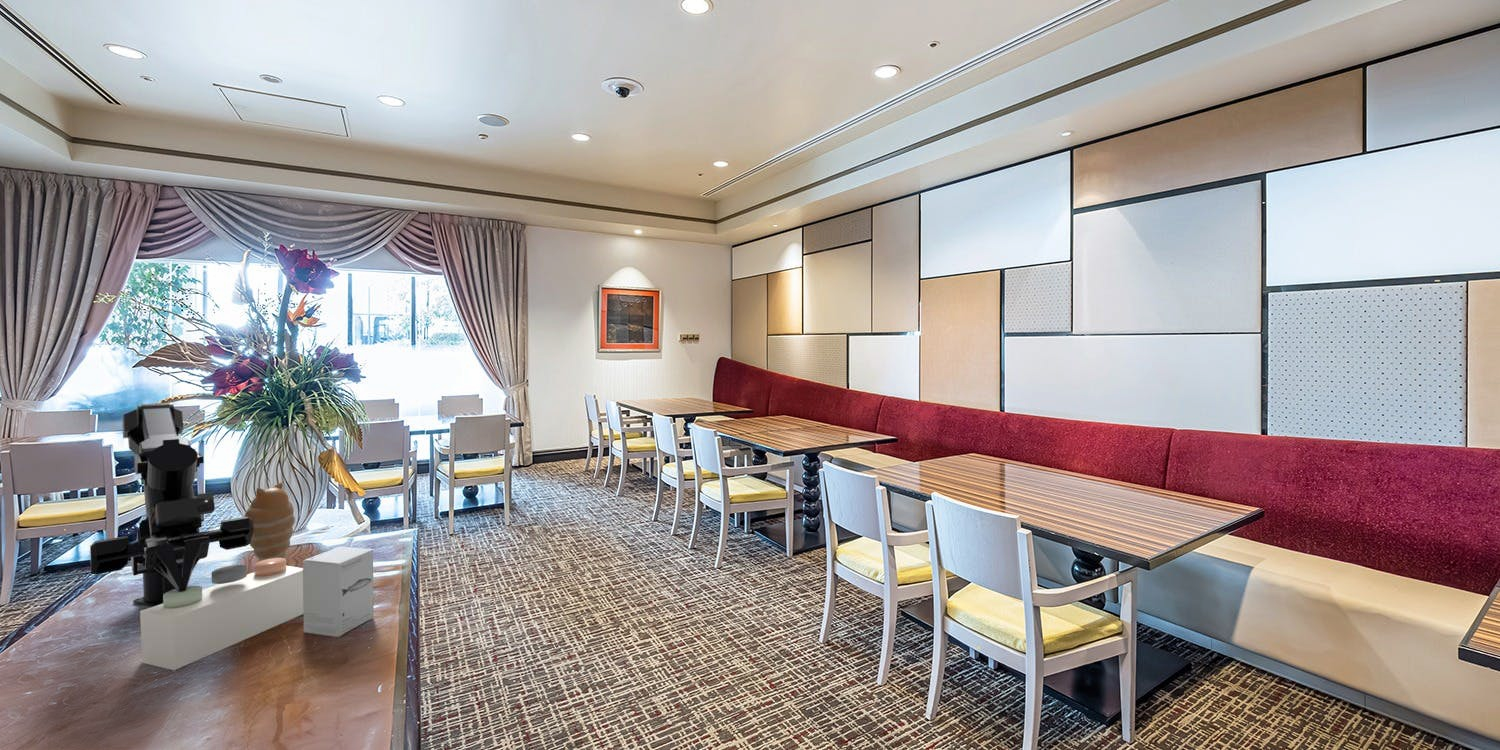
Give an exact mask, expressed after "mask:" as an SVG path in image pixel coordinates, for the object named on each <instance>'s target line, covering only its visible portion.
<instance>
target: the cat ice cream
mask: <svg viewBox="0 0 1500 750" xmlns="http://www.w3.org/2000/svg"><path fill="white" fill-rule="evenodd" d="M255 493H256V496H255V497H253V500H252V501H251V503H250V506H249V507H248V508H247V509H246V512H245V513H244V516H243V517H249V518H250V519H252V521H253V526H254V530H253V534H252V539H251V543H250V544H249V546H250V547H251V548H252V549H253V555H255V557H256V558H257V559H258V562H259V561H262V560H266V559H271V558H285V559H286V552H287V551H288V550H289V548H290V547H291V538H292V536H293V534H294V525H295V522H296V517H295V516H294V511H295V509H294V506H293V503H292V502H291V501H290V499H289V496H288V494H287V492H286V491H284V489H283V482H278V483H277V484H275V485H274V487H270V488H265V489H263V488H261V487H257V488H256V492H255Z"/></svg>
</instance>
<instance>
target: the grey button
mask: <svg viewBox="0 0 1500 750" xmlns="http://www.w3.org/2000/svg"><path fill="white" fill-rule="evenodd" d="M247 568H248V567H247V565H246V564H232V565H228V566H227V565H226V566H221V567H220V568H216V569H214V570H212V571H211V573H210V575H211V584H214V585H215V584H216V585H218V584H224V583H231V582H235V581H238V580H241V579H243V578H245V577H246V576H247V575H248V569H247Z"/></svg>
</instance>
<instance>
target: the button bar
mask: <svg viewBox="0 0 1500 750" xmlns="http://www.w3.org/2000/svg"><path fill="white" fill-rule="evenodd" d="M302 615H304V613H303V567H297V566H292V565H291V566H290V565H286V569H285V570H284V571H282V572H279V573H275V574H271V575H255V572H250V573H247V576H246V577H245V578H243V579H241V580H238V581H235V582H231V583H224V584H216V585H215V584H214V585H212V586H210V587H207V588H204V589H202V599H200V600H199V601H197V602H194V603H191V604H188V605H184V606H178V607H165V606H164V605H163V604H160V605H157V606H154V607H151V606H150V607H148V608H146V609H142V610H139V617H140V618H139V619H140V643H141V644H140V646H141V663H142V664H147V665H151V666H155V667H159V668H164V669H167V670H170V671H171V670H172V671H177V670H178V669H180V668H182V667H185V666H187V665H188V666H189V665H190V664H191V663H195V662H196V661H197V662H198V661H199V660H201V659H203V658H206V657H208V656H210V655H213V654H215V653H218V652H219V651H222V650H224V649H226V648H229V647H230V646H234V645H236V644H238V643H240V642H243V641H245V640H246V639H249V638H251V637H254V636H256V635H258V634H261V633H263V632H265V631H267V630H269V629H272V628H274V627H277V626H279V625H281V624H283V623H286V622H288V621H291V620H293V619H296V618H298V617H300V616H302Z"/></svg>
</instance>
